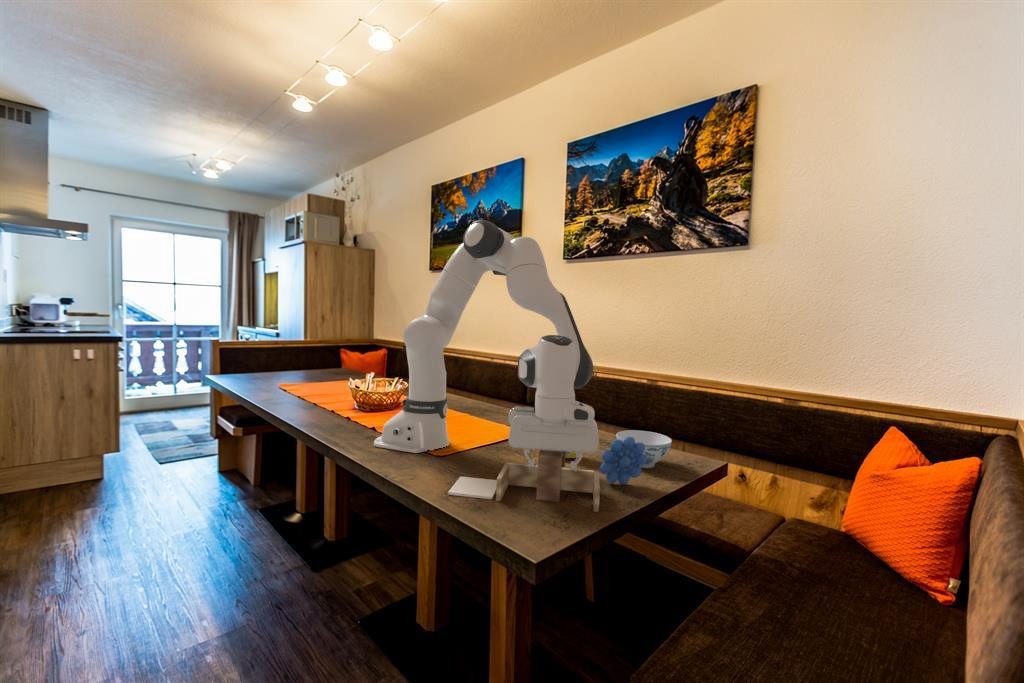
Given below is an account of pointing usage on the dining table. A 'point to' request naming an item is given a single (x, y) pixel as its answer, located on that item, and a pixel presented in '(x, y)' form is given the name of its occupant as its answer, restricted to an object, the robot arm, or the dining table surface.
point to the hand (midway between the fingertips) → (552, 468)
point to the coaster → (474, 488)
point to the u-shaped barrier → (569, 480)
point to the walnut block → (549, 475)
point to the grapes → (623, 460)
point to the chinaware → (649, 444)
